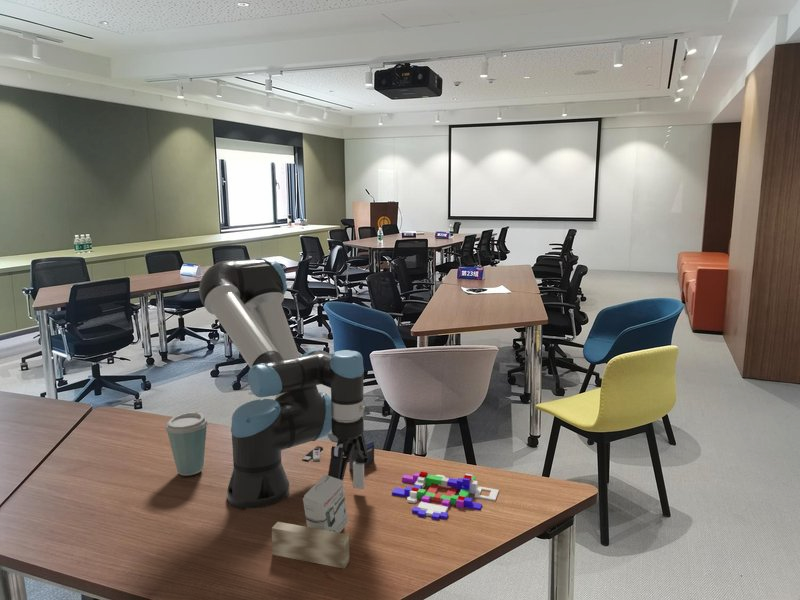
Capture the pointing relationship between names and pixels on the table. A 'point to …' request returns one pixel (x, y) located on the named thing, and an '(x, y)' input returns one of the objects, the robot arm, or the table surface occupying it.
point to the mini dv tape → (370, 457)
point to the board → (310, 544)
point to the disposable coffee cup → (188, 441)
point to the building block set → (435, 483)
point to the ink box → (326, 505)
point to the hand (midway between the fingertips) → (348, 501)
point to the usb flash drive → (314, 454)
